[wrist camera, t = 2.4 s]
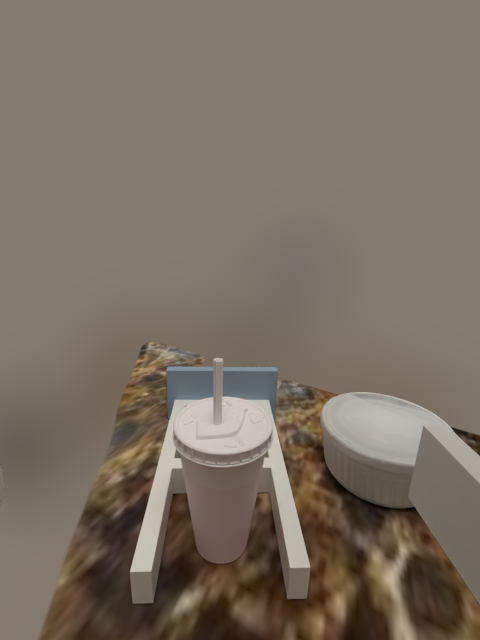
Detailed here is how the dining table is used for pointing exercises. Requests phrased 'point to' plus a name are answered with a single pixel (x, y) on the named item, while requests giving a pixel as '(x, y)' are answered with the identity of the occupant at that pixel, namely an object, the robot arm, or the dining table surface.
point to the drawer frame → (169, 480)
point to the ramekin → (374, 444)
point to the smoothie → (222, 467)
